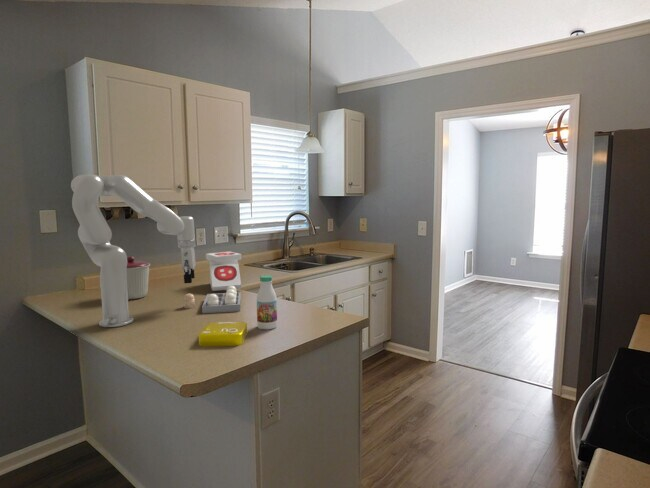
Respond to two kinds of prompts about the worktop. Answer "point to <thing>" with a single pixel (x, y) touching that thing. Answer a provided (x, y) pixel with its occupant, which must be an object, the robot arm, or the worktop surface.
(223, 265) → the pizza boxes
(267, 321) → the milk bottle
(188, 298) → the brown egg
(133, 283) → the canister
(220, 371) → the worktop surface
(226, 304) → the egg carton
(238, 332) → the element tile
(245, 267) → the worktop surface
